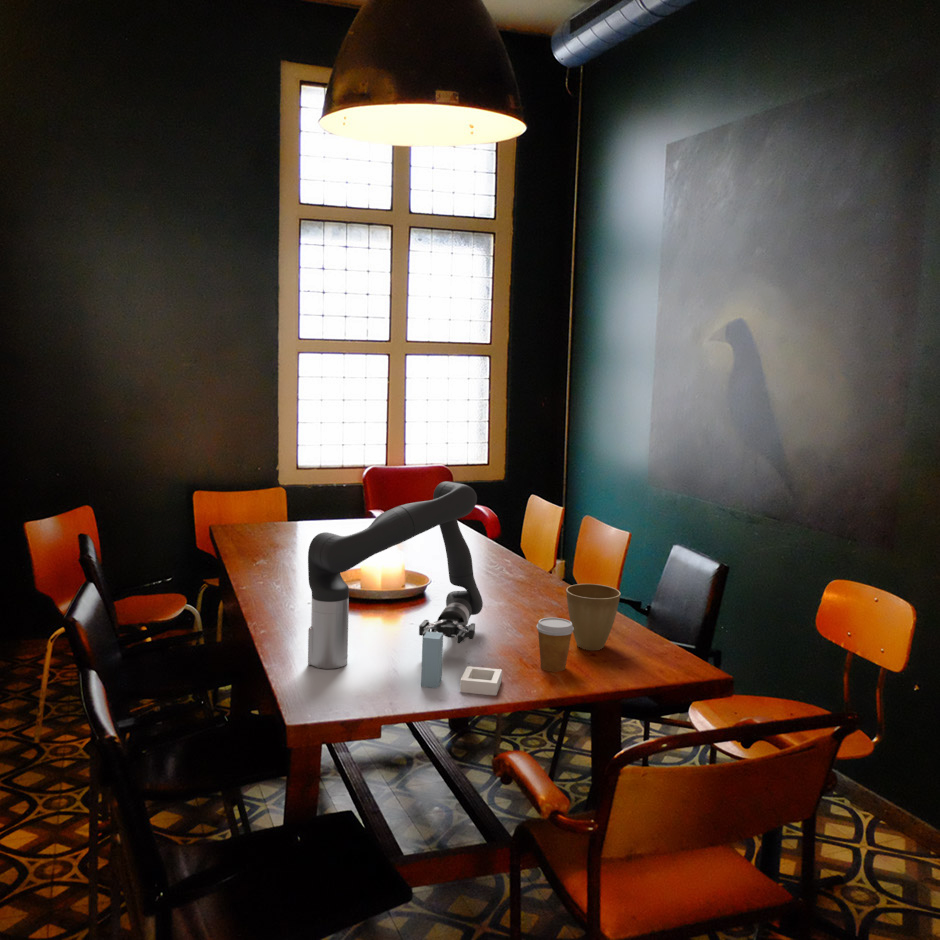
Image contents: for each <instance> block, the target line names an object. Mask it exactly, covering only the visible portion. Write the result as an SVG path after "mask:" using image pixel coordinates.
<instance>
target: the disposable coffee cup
mask: <svg viewBox="0 0 940 940" xmlns="http://www.w3.org/2000/svg"><path fill="white" fill-rule="evenodd" d="M537 622H538V623H537V624H536V629H537V632H538V635H537V636H538V646H539V659H540V660H539V661H540V668H541V669H543V670H544V671H546V672H547V671H548V672H551V671H552V672H554V673H555V672H558V671H559V672H563V671H565V670H566V667H567V660H568V656H569V650H570V645H571V639H572V638H571V637H572V634H573V630H574V628H573V626H572V622H571V621H570V619H569V620H568V619H565V618H562V617H561V618H559V617H544V618H541V619H539V620H538V621H537ZM552 672H551V673H552Z"/></svg>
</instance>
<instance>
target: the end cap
mask: <svg viewBox="0 0 940 940" xmlns="http://www.w3.org/2000/svg"><path fill="white" fill-rule="evenodd" d="M502 677H503V669H501V668H490V667H481V666H480V667H478V666H468V665H467V666H466V668H465V670H464V672H463V675H461V678H460V687H459V692H460V693H466V694H477V695H485V696H486V695H487V696H497V695H498V692H499V690H500V687H501V683H502Z"/></svg>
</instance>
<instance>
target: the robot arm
mask: <svg viewBox="0 0 940 940" xmlns="http://www.w3.org/2000/svg"><path fill="white" fill-rule="evenodd" d="M433 491H434V492H433V495H432V497H433V499H430V500H424V501H415V502H410V503H405V504H401V505H397V506H395V507H393V508H391V509H389V510H386V511H384V512H382V513H380V514H379V515H378V516H377V517H376V518H375V519H374V520H373V521H372V522H371V524H370V525H369V526H368V527H366V528H365V529H363V530H361V531H358V532H355V533H352V534H349V535H345V536H343V535H339V534H335V533H332V532H325V531H324V532H320V533H318V534H316V535H314V537H313V539H312V540H311V541H310V543H309V547H308V551H307V552H308V553H307V570H308V585H309V588H310V590H311V620H310V621H311V623H310V624H311V626H309V627H308V629H307V630H308V631H307V632H308V637H307V638H308V639H307V665H308V666H312V667H314V668H318V669H324V670H326V669H327V670H329V669H332V670H333V669H338V668H342V667H344V666H346V665H347V664H348V656H349V655H348V653H349V651H348V647H349V613H350V612H349V610H350V609H349V608H350V605H349V602H350V601H349V600H350V599H349V598H350V596H349V595H350V589H349V585H348V584H347V583H346V582H345V581H344V579H343V577H342V574H341V573H345V572H347V571H349V570H350V569H352V568H354V567H356V566H358V565H359V564H361V563H363V562H364V561H365V560H367V559H369V558H370V557H373V556H374V555H377V554H378V553H381V552H384V551H386V550H388V549H390V548H392V547H394V546H398V545H399V544H402V543H404V542H406V541H408V540H411V539H412V538H414V537H416V536H418V535H420V534H423V533H425V532H427V531H429V530H431V529H434V528H435V527H437V526H439V529H440V532H441V535H442V540H443V543H444V548H445V554H446V561H447V571H448V578H449V582H450V583H451V585H452V586H455V587H461V588H462V589H463V588H464V589H465V590H453V591H450V592H449V593H448V594H447V596H446V600H445V608H444V609H443V610H442V612H441V613H440V615H439V616H438V618H437V620H436V621H434V622H430V620H429V619H424V620H423V621H422V622H421V623H420V624H419V625H418V635H419V636H420V637H421V636H422V637H423V636H424V635H425V634H426V632H427V631H428V632H439V633H443V637H446V638H451V639H453V638H454V639H455V638H456V639H457V644H461V643H463V642H464V641H465V640H466V639H467V638H468V640H473V639H474V637H475V634H476V623H473V622H472V623H470V624H468V623H469V620H470V618H471V616H474V615H475V616H476V615H479V614H480V613H481V612H482V609H483V607H484V606H483V605H484V602H483V598H482V595H481V593H480V590H479V588H478V585H477V582H476V580H475V575H474V567H473V560H472V554H471V551H470V548H469V546H468V544H467V541H466V539H465V538H464V536H463V534H462V531H461V529H460V525H459V523H458V519H461V518H464V517H466V516H468V515H469V514H471V513H472V511H473V510H474V508H476V505H477V502H478V496H477V493H476V491H475V490H474V489H473V488H472V487H471V486H469V485H467V484H464V483H459V482H454V481H442V482H440V483H439V484H437V485H436V487H435V489H434V490H433Z"/></svg>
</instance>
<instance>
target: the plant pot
mask: <svg viewBox="0 0 940 940" xmlns="http://www.w3.org/2000/svg"><path fill="white" fill-rule="evenodd" d="M565 590H566V591H565V592H566V593H565V594H566V604H567V610H568V616H569V621H571V622H572V626H573V628H574V630H573V632H572V634H573V637H574V640H575V642H576V646H577V647H578V648H579V647H580V649H581V648H582V650H585V649H586V650H585V651H599V650H600V649H601V650H602V648H603V649H604V648H605V645H606V643H607V641H608V639H609V636H610V633H611V632H612V628H613V625H614V623H615V619H616V615H617V611H618V607H619V603H620V599H621V592H620V591H619V590H618V589H616V588H615V587H611V586H608V585H603V584H598V583H596V584H595V583H578V584H573V585H569V586H567V587H566V589H565Z"/></svg>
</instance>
